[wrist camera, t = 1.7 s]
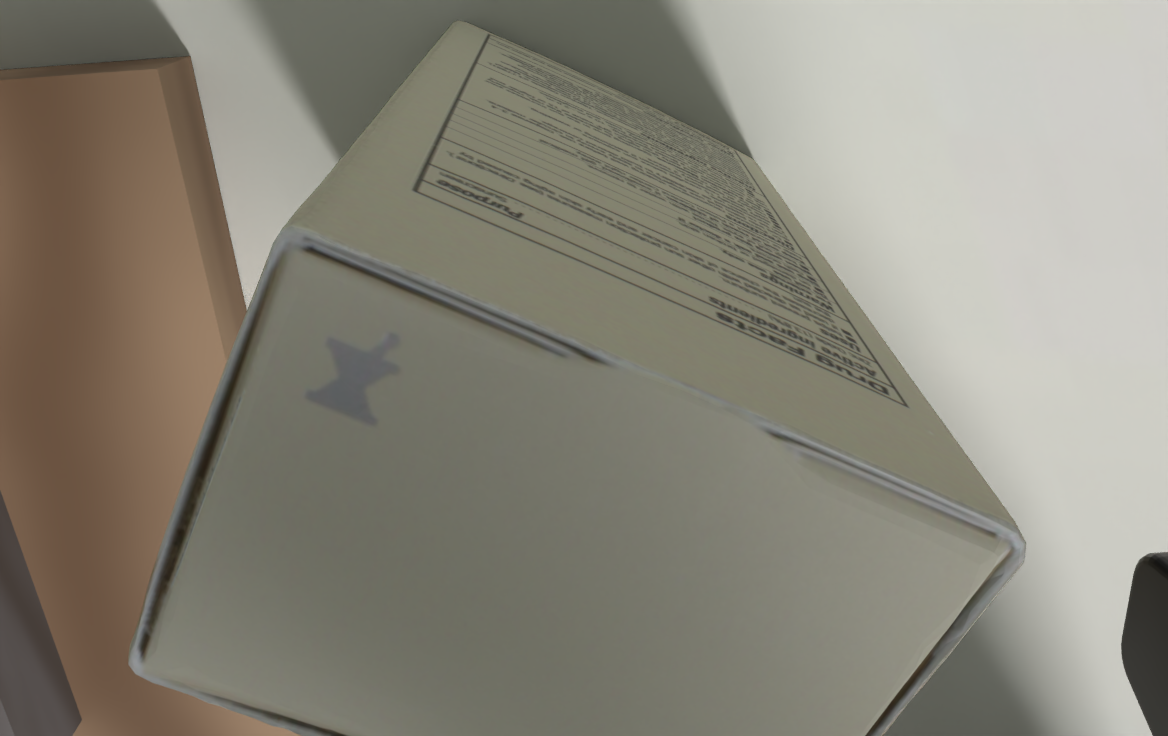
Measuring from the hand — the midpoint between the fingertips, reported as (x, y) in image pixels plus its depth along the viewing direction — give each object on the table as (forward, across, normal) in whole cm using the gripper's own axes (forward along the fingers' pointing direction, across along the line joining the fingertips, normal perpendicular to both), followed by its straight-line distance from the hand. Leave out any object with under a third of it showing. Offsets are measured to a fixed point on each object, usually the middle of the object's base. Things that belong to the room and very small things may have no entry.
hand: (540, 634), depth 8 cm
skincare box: (+12, 0, 0) cm, 13 cm away
